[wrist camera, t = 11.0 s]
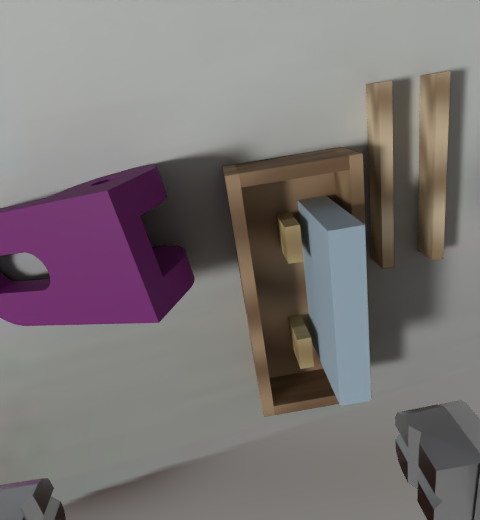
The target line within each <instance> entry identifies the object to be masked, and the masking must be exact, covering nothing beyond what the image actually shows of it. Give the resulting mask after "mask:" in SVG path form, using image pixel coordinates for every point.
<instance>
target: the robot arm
mask: <svg viewBox="0 0 480 520" xmlns="http://www.w3.org/2000/svg"><path fill="white" fill-rule="evenodd" d="M395 425H396V427H397V429H398V431H399V433H400V434H399V435H398V436H397V438H396V439H395V443H396V453H397V457H398V461H399V464H400V467H401V469H402V472H403V474H404V476H405V478H406V480H407V482H408V483H409V484H411V485H412V486H414V487H415V488H417V489H418V499H417V501H418V503H419V505H420V507H421V509H422V510H423V513H424V515H425V516H426V518H427V520H480V419H479V418H478V417H477V415H476V414H475V413H474V412H473V410H472V409H471V408H470V407H469V406H468V405H467V403H465V402H464V401H462V400H460V401H454V402H449V403H444V404H440V405H432V406H427V407H422V408H417V409H412V410H407V411H402V412H398V413H397V414H396V417H395ZM53 489H54V487H53V486H52V484H51V482H50V480H49V479H48V478H42V479H36V480H30V481H23V482H17V483H10V484H4V485H0V520H66V517H65V511H64V507H63V505H62V503H61V501H59V500H57V499H56V498H54V497H52V496H51V495H52V492H53Z"/></svg>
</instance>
